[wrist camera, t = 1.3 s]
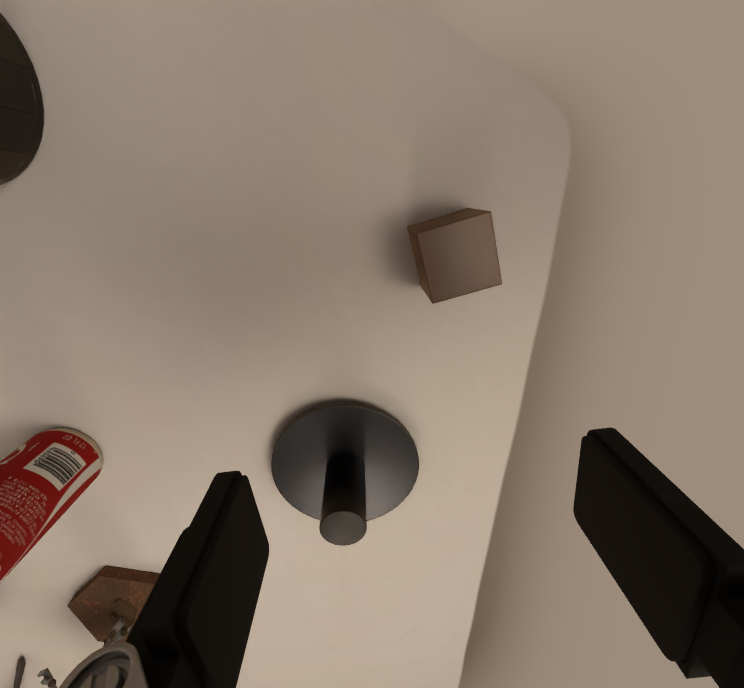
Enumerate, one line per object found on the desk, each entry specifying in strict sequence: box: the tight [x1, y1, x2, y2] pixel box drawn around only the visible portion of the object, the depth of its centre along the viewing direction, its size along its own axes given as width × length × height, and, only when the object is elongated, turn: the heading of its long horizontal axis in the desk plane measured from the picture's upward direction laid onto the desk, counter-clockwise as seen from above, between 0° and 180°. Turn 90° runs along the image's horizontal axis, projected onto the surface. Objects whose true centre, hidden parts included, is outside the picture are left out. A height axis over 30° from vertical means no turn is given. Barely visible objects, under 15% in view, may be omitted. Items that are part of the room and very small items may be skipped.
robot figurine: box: [37, 566, 160, 688], centre depth 30 cm, size 11×9×12 cm
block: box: [407, 208, 502, 303], centre depth 22 cm, size 4×4×4 cm
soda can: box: [0, 428, 103, 583], centre depth 23 cm, size 5×5×12 cm
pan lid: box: [271, 402, 419, 545], centre depth 27 cm, size 11×11×7 cm
